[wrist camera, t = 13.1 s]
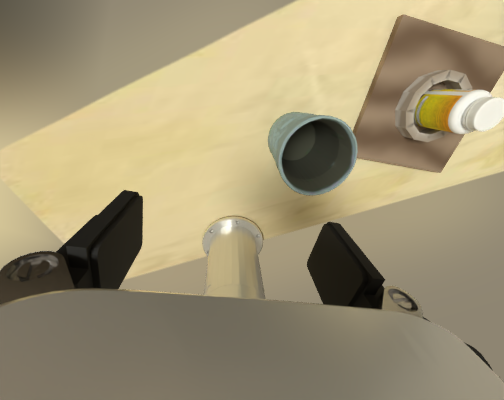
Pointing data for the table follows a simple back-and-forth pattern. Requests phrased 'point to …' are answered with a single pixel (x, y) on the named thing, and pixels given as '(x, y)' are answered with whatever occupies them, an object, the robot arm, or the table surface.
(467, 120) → the supplement bottle
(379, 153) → the collar board
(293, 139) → the blue-grey plant pot
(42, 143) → the table surface
